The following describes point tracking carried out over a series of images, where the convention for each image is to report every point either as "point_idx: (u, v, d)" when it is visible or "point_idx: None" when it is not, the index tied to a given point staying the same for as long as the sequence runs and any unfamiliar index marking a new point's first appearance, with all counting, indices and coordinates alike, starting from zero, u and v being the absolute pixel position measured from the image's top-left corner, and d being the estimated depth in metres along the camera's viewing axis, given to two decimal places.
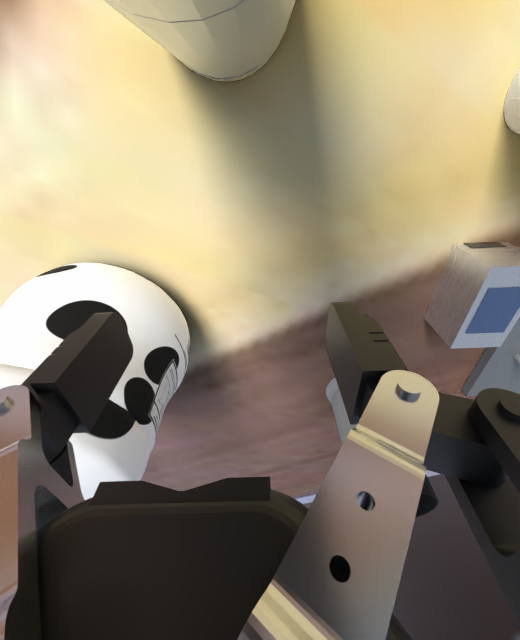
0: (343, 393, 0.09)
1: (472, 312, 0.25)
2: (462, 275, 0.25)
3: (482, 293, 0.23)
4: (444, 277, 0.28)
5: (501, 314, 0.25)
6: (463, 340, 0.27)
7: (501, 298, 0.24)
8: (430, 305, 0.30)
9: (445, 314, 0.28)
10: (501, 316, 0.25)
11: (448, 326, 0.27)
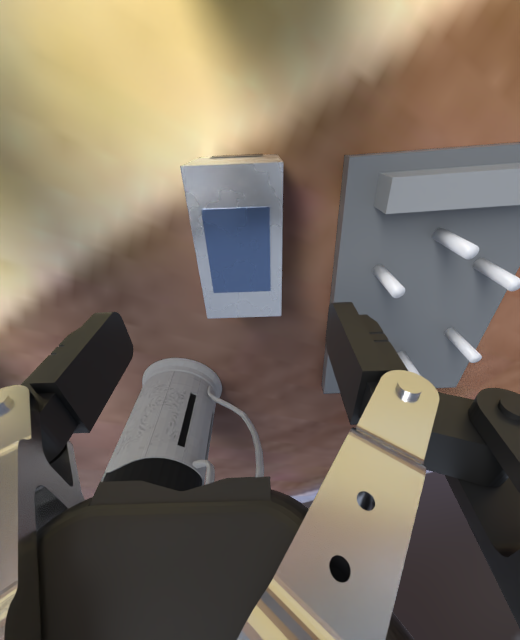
0: (343, 393, 0.09)
1: (201, 255, 0.16)
2: None
3: (196, 219, 0.14)
4: None
5: (247, 258, 0.16)
6: (218, 304, 0.18)
7: (233, 229, 0.15)
8: None
9: None
10: (251, 262, 0.16)
11: None
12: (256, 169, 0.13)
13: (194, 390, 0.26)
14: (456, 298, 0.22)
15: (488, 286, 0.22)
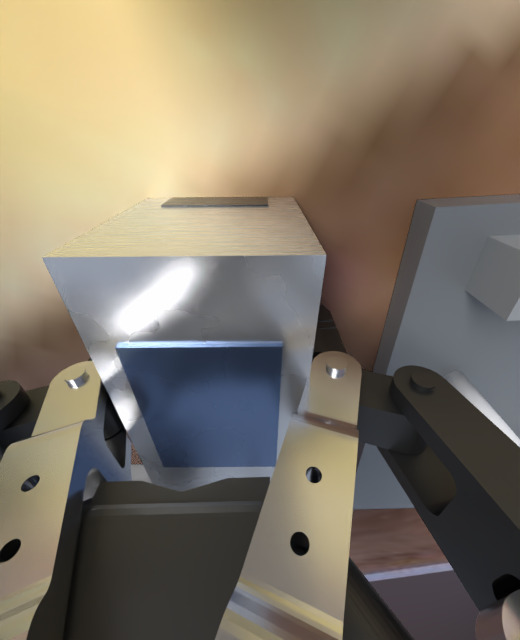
0: None
1: (132, 418, 0.07)
2: None
3: (110, 362, 0.06)
4: None
5: (230, 425, 0.07)
6: (176, 478, 0.09)
7: (196, 379, 0.06)
8: None
9: None
10: (238, 428, 0.08)
11: None
12: (252, 269, 0.05)
13: None
14: None
15: None
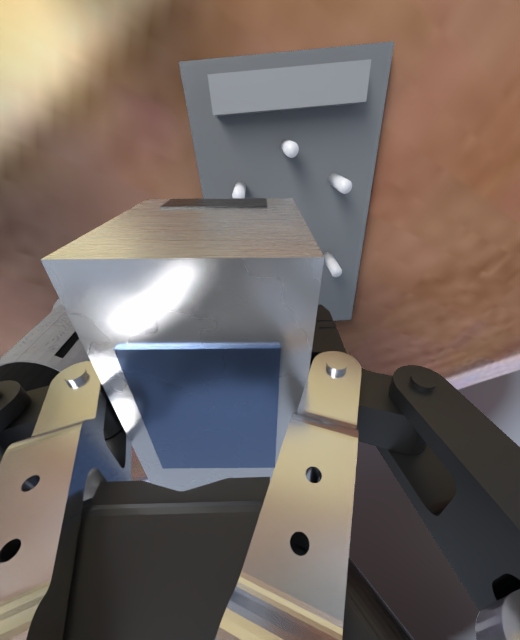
0: None
1: (131, 419, 0.07)
2: None
3: (109, 364, 0.06)
4: None
5: (228, 426, 0.07)
6: (175, 479, 0.09)
7: (195, 380, 0.06)
8: None
9: None
10: (237, 429, 0.08)
11: None
12: (250, 271, 0.05)
13: None
14: (323, 218, 0.24)
15: (349, 204, 0.23)
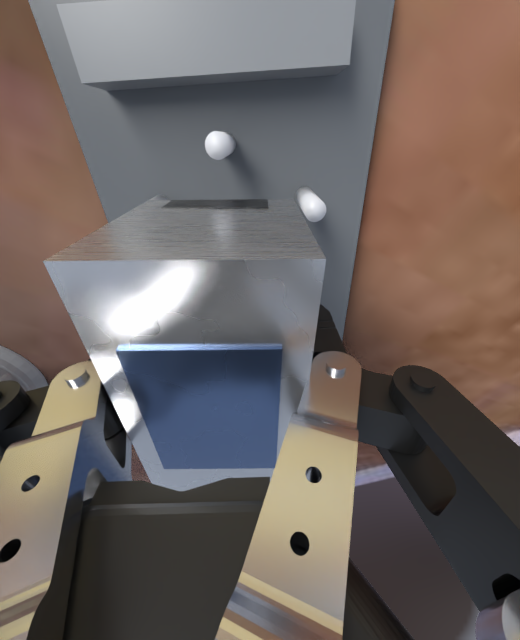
0: None
1: (132, 419, 0.07)
2: None
3: (110, 365, 0.06)
4: None
5: (230, 426, 0.07)
6: (176, 480, 0.09)
7: (197, 382, 0.06)
8: None
9: None
10: (239, 430, 0.08)
11: None
12: (253, 273, 0.05)
13: None
14: None
15: (329, 233, 0.15)
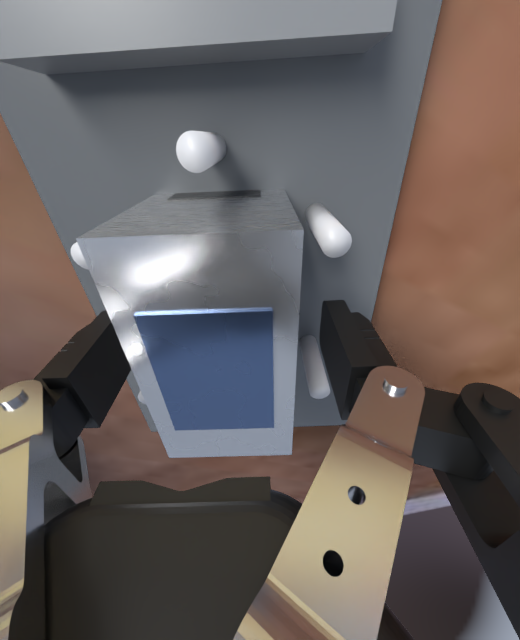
0: (335, 389, 0.09)
1: (147, 382, 0.08)
2: None
3: (129, 330, 0.07)
4: None
5: (232, 386, 0.08)
6: (186, 442, 0.10)
7: (201, 344, 0.08)
8: None
9: None
10: (239, 390, 0.09)
11: None
12: (244, 244, 0.06)
13: None
14: None
15: (347, 261, 0.12)
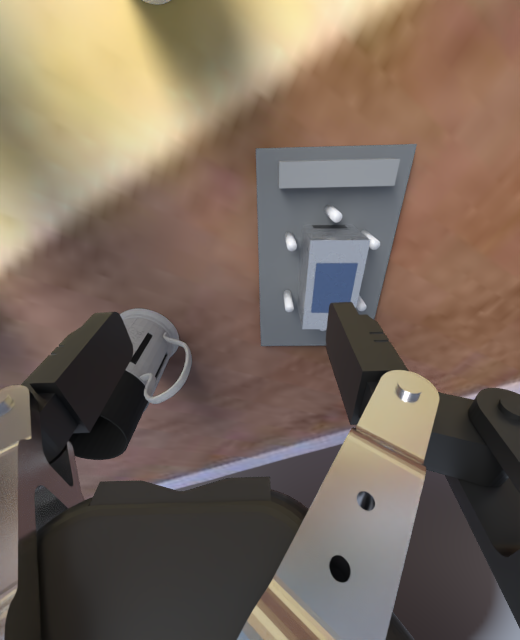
0: (343, 393, 0.09)
1: (309, 289, 0.25)
2: (304, 253, 0.26)
3: (312, 269, 0.24)
4: (301, 259, 0.28)
5: (338, 292, 0.25)
6: (312, 320, 0.27)
7: (332, 274, 0.24)
8: (298, 290, 0.31)
9: (301, 296, 0.28)
10: (339, 294, 0.25)
11: (301, 306, 0.28)
12: (354, 243, 0.23)
13: (151, 331, 0.32)
14: None
15: (374, 254, 0.29)
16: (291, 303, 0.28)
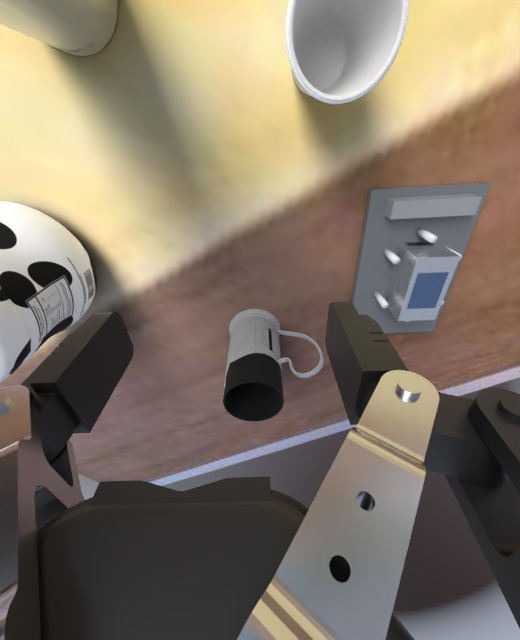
0: (343, 393, 0.09)
1: (409, 292, 0.34)
2: (403, 265, 0.35)
3: (414, 277, 0.33)
4: (393, 268, 0.37)
5: (430, 293, 0.34)
6: (406, 314, 0.36)
7: (428, 281, 0.33)
8: (386, 290, 0.40)
9: (394, 296, 0.37)
10: (430, 294, 0.34)
11: (396, 304, 0.37)
12: (448, 258, 0.31)
13: (269, 326, 0.41)
14: None
15: None
16: None
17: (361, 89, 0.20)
